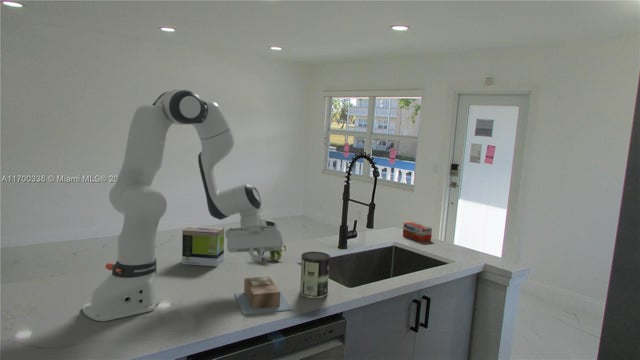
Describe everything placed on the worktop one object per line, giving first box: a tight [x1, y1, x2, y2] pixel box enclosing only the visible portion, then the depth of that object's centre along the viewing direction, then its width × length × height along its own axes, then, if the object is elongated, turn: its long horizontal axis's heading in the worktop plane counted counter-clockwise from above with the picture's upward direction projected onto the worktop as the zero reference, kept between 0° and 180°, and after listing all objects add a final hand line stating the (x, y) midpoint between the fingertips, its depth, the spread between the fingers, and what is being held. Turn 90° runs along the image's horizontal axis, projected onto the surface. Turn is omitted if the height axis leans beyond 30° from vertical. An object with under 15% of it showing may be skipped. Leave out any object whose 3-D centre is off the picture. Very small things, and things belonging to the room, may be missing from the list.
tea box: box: [181, 225, 225, 267], centre depth 184 cm, size 15×10×15 cm, turn 84°
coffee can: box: [299, 251, 331, 299], centre depth 157 cm, size 10×10×14 cm
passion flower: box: [255, 245, 287, 263], centre depth 196 cm, size 13×12×14 cm
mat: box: [234, 291, 293, 316], centre depth 147 cm, size 17×16×1 cm
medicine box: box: [402, 221, 433, 243], centre depth 246 cm, size 15×8×8 cm, turn 32°
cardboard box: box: [243, 276, 281, 309], centre depth 149 cm, size 9×5×15 cm
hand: (257, 261), depth 155 cm, fingers closed
